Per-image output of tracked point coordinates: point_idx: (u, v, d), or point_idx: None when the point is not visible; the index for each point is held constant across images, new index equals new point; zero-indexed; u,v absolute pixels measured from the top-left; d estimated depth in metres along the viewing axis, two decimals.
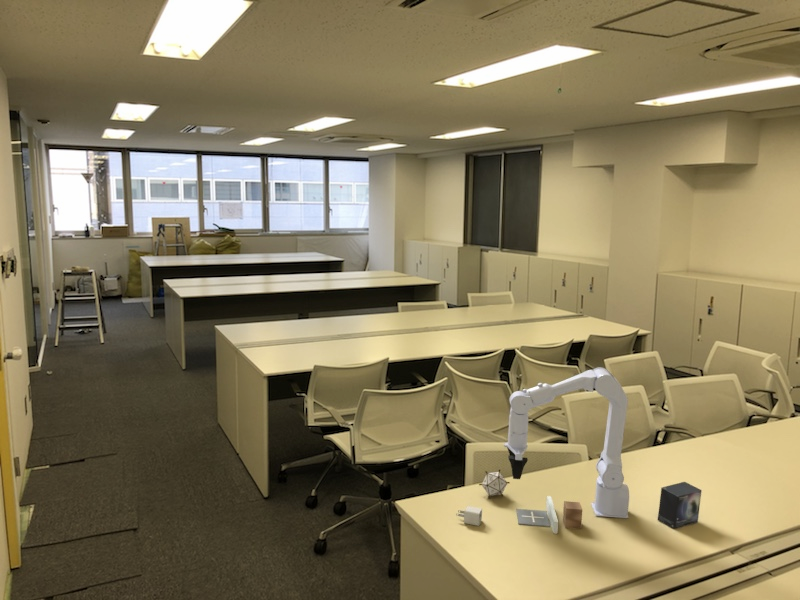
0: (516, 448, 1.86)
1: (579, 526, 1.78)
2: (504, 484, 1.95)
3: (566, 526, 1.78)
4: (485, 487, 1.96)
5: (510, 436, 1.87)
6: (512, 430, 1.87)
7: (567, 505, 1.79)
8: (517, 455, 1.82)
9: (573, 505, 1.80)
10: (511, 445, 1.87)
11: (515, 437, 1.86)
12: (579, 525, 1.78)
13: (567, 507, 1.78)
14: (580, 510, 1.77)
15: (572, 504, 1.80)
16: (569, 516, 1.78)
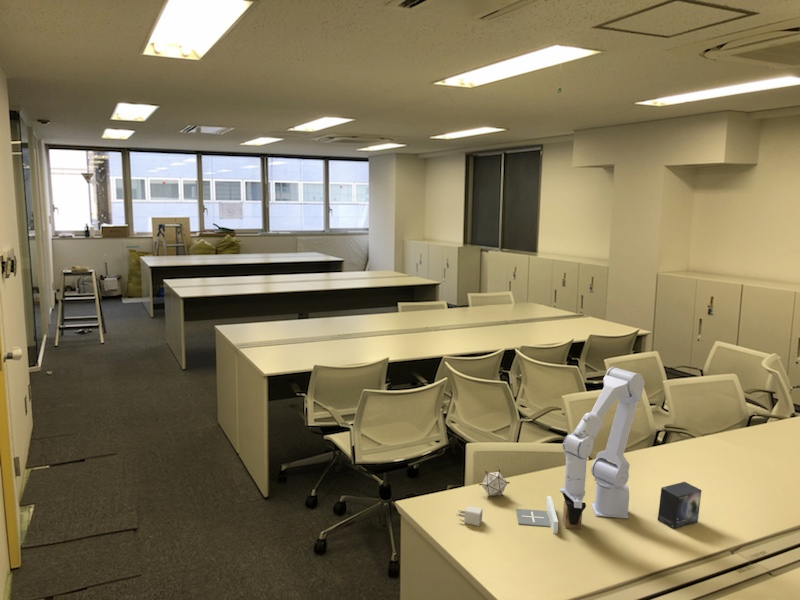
0: (574, 494, 1.76)
1: (579, 526, 1.78)
2: (504, 484, 1.95)
3: (566, 526, 1.78)
4: (485, 487, 1.96)
5: (567, 481, 1.77)
6: (576, 477, 1.75)
7: None
8: (576, 503, 1.72)
9: None
10: (568, 491, 1.77)
11: (573, 482, 1.76)
12: (579, 525, 1.78)
13: None
14: None
15: None
16: None
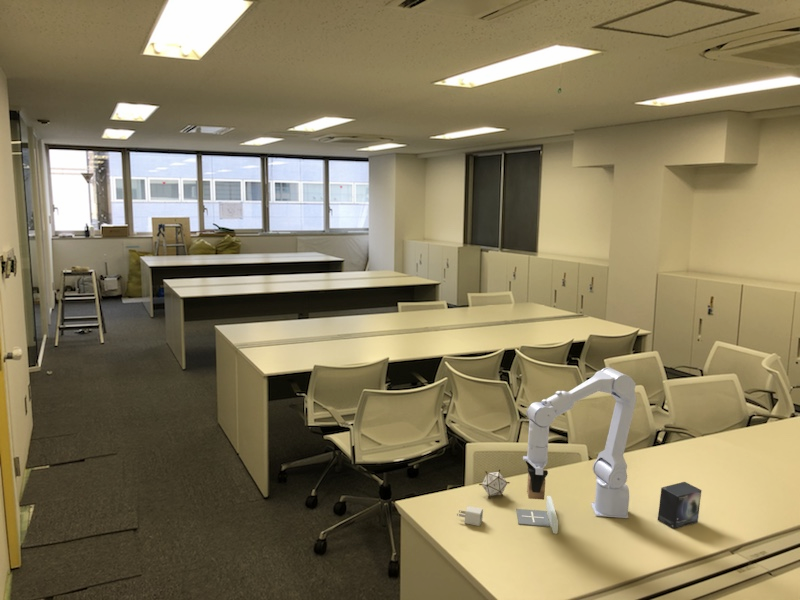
0: (536, 462, 1.78)
1: (542, 497, 1.80)
2: (504, 484, 1.95)
3: (529, 497, 1.80)
4: (485, 487, 1.96)
5: (530, 449, 1.79)
6: (535, 444, 1.78)
7: None
8: (538, 470, 1.74)
9: None
10: (531, 459, 1.79)
11: (535, 450, 1.78)
12: (542, 496, 1.80)
13: (530, 478, 1.80)
14: (543, 481, 1.79)
15: None
16: None
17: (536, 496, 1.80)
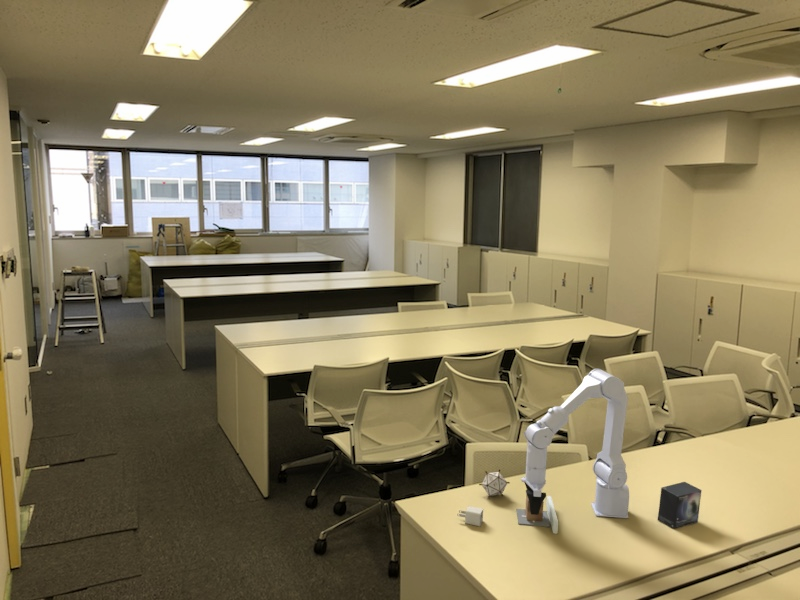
0: (534, 483, 1.79)
1: (540, 518, 1.81)
2: (504, 484, 1.95)
3: (528, 518, 1.82)
4: (485, 487, 1.96)
5: (528, 471, 1.80)
6: (533, 465, 1.79)
7: None
8: (536, 491, 1.75)
9: None
10: (529, 480, 1.80)
11: (533, 472, 1.79)
12: (540, 517, 1.81)
13: None
14: None
15: None
16: None
17: (534, 518, 1.81)
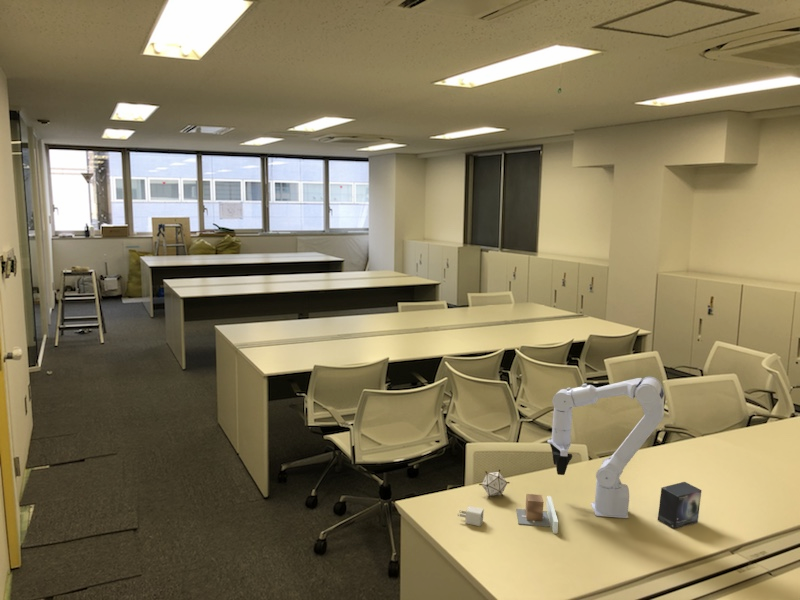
0: (560, 444, 1.91)
1: (540, 518, 1.81)
2: (504, 484, 1.95)
3: (528, 518, 1.82)
4: (485, 487, 1.96)
5: (554, 433, 1.92)
6: (554, 426, 1.92)
7: (528, 498, 1.82)
8: (562, 451, 1.87)
9: (535, 498, 1.83)
10: (555, 442, 1.92)
11: (559, 433, 1.91)
12: (540, 517, 1.81)
13: (529, 499, 1.81)
14: (541, 502, 1.80)
15: (534, 497, 1.83)
16: (530, 509, 1.81)
17: (534, 518, 1.81)
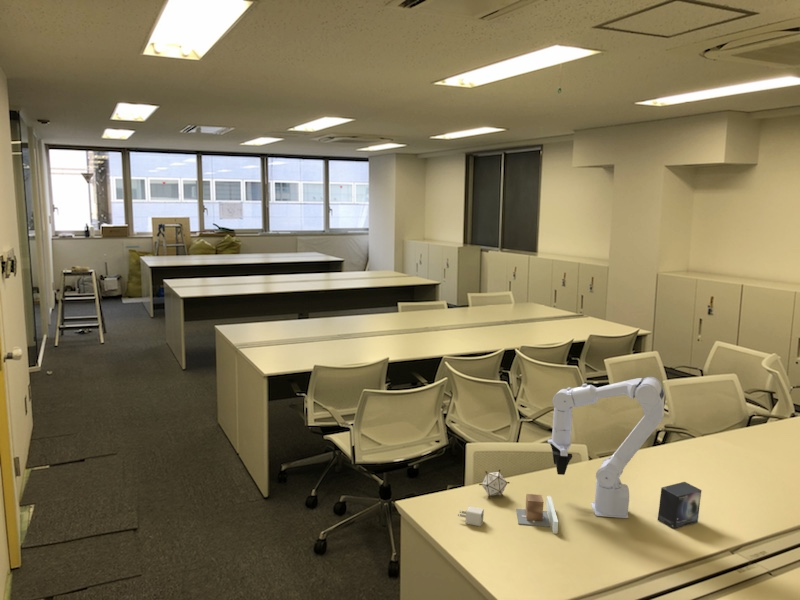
0: (560, 444, 1.91)
1: (540, 518, 1.81)
2: (504, 484, 1.95)
3: (528, 518, 1.82)
4: (485, 487, 1.96)
5: (554, 433, 1.92)
6: (554, 426, 1.92)
7: (528, 498, 1.82)
8: (562, 451, 1.87)
9: (535, 498, 1.83)
10: (555, 441, 1.92)
11: (559, 433, 1.91)
12: (540, 517, 1.81)
13: (529, 499, 1.81)
14: (541, 502, 1.80)
15: (534, 497, 1.83)
16: (530, 509, 1.81)
17: (534, 518, 1.81)
